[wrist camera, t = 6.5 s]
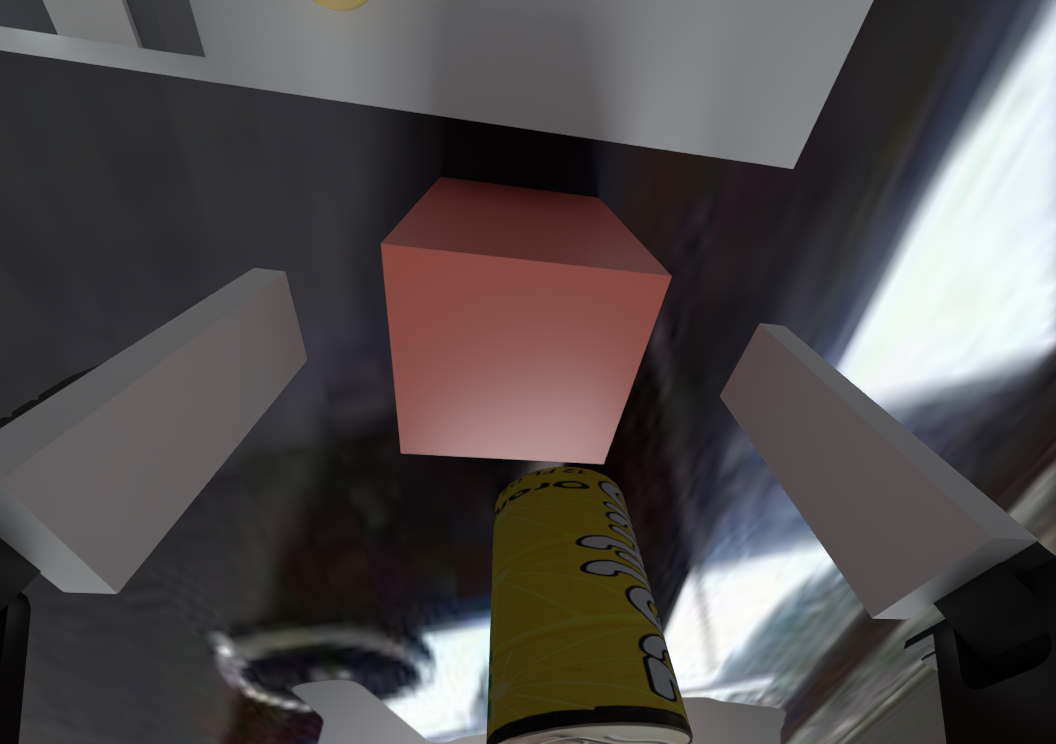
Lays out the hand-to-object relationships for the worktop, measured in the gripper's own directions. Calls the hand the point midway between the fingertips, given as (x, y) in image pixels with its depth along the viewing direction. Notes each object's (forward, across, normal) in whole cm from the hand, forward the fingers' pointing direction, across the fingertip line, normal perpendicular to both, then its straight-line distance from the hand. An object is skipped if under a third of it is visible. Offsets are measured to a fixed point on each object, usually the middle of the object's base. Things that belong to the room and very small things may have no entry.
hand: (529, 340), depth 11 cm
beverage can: (+7, +4, -17) cm, 19 cm away
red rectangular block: (+6, 0, 0) cm, 6 cm away
